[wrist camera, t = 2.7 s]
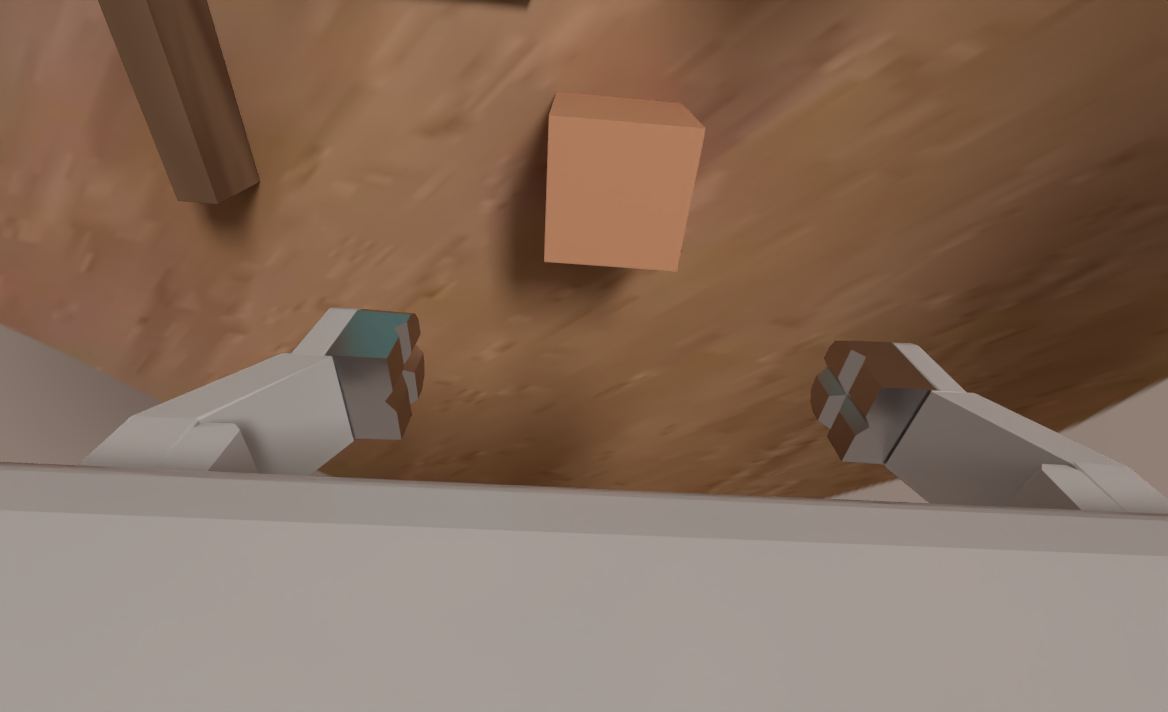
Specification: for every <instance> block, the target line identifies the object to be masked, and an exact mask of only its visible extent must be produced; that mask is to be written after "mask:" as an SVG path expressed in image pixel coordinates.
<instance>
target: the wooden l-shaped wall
mask: <svg viewBox="0 0 1168 712" xmlns="http://www.w3.org/2000/svg"><path fill="white" fill-rule="evenodd" d="M98 2H99V4H100V7H101V9H102V12H103V14H104V17H105V19H106V22H107V24H108V27H109V29H110V32H111V34H112V37H113V39H114V42H115V44H116V47H117V49H118V52H119V54H120V57H121V59H122V62H123V64H124V67H125V69H126V72H127V74H128V77H129V79H130V82H131V84H132V87H133V89H134V92H135V94H136V97H137V99H138V102H139V104H140V107H141V109H142V112H143V114H144V117H145V119H146V122H147V125H148V127H149V130H150V132H151V135H152V137H153V140H154V142H155V145H156V147H157V150H158V152H159V155H160V157H161V160H162V162H163V165H164V167H165V170H166V172H167V175H168V177H169V180H170V182H171V185H172V187H173V190H174V192H175V195H176V197H177V200H178V201H184V202H197V203H210V204H219V203H221V202H223V201H225V200H227V199H228V198H230V197H232V196H234V195H236V194H238V193H239V192H241V191H243V190H245V189H247V188H249V187H250V186H252V185H254V184H256V183H258V182H260V180H259V177H258V174H257V170H256V167H255V163H254V160H253V157H252V153H251V150H250V147H249V143H248V140H247V136H246V133H245V130H244V126H243V123H242V120H241V116H240V113H239V109H238V106H237V103H236V99H235V96H234V92H233V89H232V86H231V82H230V79H229V76H228V72H227V69H226V65H225V62H224V59H223V55H222V52H221V49H220V45H219V42H218V38H217V35H216V32H215V28H214V25H213V21H212V18H211V15H210V11H209V8H208V5H207V1H206V0H98Z"/></svg>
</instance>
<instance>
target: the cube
mask: <svg viewBox="0 0 1168 712" xmlns="http://www.w3.org/2000/svg"><path fill="white" fill-rule="evenodd" d="M705 130H706V128H705V127H704V126H703V125H702V124H701V123H700V122H699V121H698V120H697V119H696V118H695V117H694V116H693V115H692V114H691V112H690V111H689V110H688V109H687V108H686V107H685V106H684V105H683V104H682V103H675V102H664V101H652V100H641V99H629V98H618V97H606V96H595V95H583V94H572V93H560V92H556V95H555V98H554V101H553V104H552V107H551V110H550V113H549V128H548V159H547V189H546V220H545V250H544V262H554V263H568V264H582V265H595V266H609V267H623V268H637V269H651V270H664V271H677V267H678V263H679V258H680V253H681V248H682V243H683V238H684V233H685V228H686V223H687V218H688V214H689V209H690V204H691V199H692V194H693V189H694V184H695V179H696V174H697V169H698V165H699V160H700V155H701V150H702V145H703V140H704V135H705Z"/></svg>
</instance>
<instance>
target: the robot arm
mask: <svg viewBox="0 0 1168 712" xmlns="http://www.w3.org/2000/svg"><path fill="white" fill-rule="evenodd" d="M420 334H421V333H420V326H419V320H418V317H417V316H416V314H415V313H405V312H393V311H381V310H368V309H359V308H339V307H334V308H329V309H328V310H327V312H326V313H325V314H324V315H323V316H322V318H321V319H320V320H319V321H318V322H317V324H316V325H315V326H314V327H313V328H312V329H311V331H310V332H309V333H308V334H307V335H306V337H305V338H304V339H303V340H302V341H301V342H300V344H299V345H298V346H297V347H296V348H295V350H294V351H293V352H292V353H291V354H288V353H281V354H279V355H277V356H274V357H272V358H269V359H267V360H265V361H262V362H260V363H258V364H255V365H253V366H250V367H248V368H246V369H243V370H241V371H238V372H236V373H234V374H231V375H229V376H226V377H224V378H222V379H219V380H217V381H214V382H212V383H210V384H207V385H205V386H203V387H200V388H198V389H195V390H193V391H191V392H188V393H186V394H183V395H181V396H179V397H176V398H174V399H171V400H169V401H167V402H164V403H162V404H160V405H157V406H155V407H152V408H150V409H148V410H145V411H143V412H140V413H138V414H136V415H133V416H131V417H130V418H129V419H128V420H127V421H126V422H125V423H123V424H122V425H121V426H120V427H119V428H118V429H117V430H116V431H115V432H113V433H112V434H111V435H110V436H109V437H108V438H107V439H106V440H105V441H104V442H102V443H101V444H100V445H99V446H98V447H97V448H96V449H95V450H94V451H93V452H91V453H90V454H89V455H88V456H87V457H86V458H85V459H84V460H83V461H82V462H80V463H79V464H78V465H56V464H34V463H11V462H0V712H1168V499H1166V498H1165V497H1164V496H1163V495H1162V494H1160V493H1159V492H1158V491H1157V490H1156V489H1154V488H1153V487H1152V486H1151V485H1150V484H1148V483H1147V482H1146V481H1145V480H1144V479H1142V478H1141V477H1140V476H1139V475H1138V474H1136V473H1135V472H1134V471H1132V469H1130V468H1129V467H1128V466H1126V465H1123V464H1121V463H1119V462H1117V461H1115V460H1113V459H1111V458H1109V457H1107V456H1105V455H1103V454H1100V453H1098V452H1096V451H1094V450H1092V449H1090V448H1088V447H1086V446H1084V445H1082V444H1079V443H1077V442H1076V441H1073V440H1071V439H1069V438H1067V437H1065V436H1063V435H1061V434H1059V433H1057V432H1055V431H1053V430H1051V429H1048V428H1046V427H1044V426H1042V425H1040V424H1038V423H1036V422H1034V421H1032V420H1030V419H1028V418H1026V417H1023V416H1021V415H1019V414H1017V413H1015V412H1013V411H1011V410H1009V409H1007V408H1005V407H1003V406H1001V405H998V404H996V403H994V402H992V401H990V400H988V399H986V398H984V397H982V396H980V395H978V394H976V393H967V392H966V391H965V390H964V389H963V388H962V387H961V386H960V385H959V384H957V383H956V382H955V381H954V380H953V379H952V378H951V377H950V376H949V375H948V374H947V373H946V372H945V371H944V370H943V369H942V368H941V367H940V366H939V365H938V364H937V363H936V362H935V361H934V360H933V359H932V358H931V357H930V356H929V355H928V354H927V353H926V352H925V351H924V350H922V349H921V348H920V347H919V346H918V345H915V344H912V343H894V342H864V341H834V343H833V344H832V345H831V346H830V347H829V348H828V351H827V353H826V355H825V357H824V359H825V362H826V364H827V368H826V369H825V370H823V371H822V372H821V373H819V374H818V375H817V376H816V378H815V380H814V383H813V386H812V388H811V406H812V410H813V413H814V415H815V416H816V418H817V420H818V421H819V422H821V423H822V424H824V425H825V426H826V427H828V428H829V429H830V430H829V433H828V435H827V437H828V439H829V441H830V442H831V444H832V446H833V447H834V449H835V451H836V452H837V454H838V456H839V457H840V459H841V461H845V462H859V463H872V464H885V467H886V468H887V469H888V470H890V471H891V472H892V473H893V474H895V475H896V476H897V477H898V478H899V479H901V480H902V481H903V482H904V483H906V484H907V485H908V486H909V487H910V488H912V489H913V490H914V491H915V492H917V493H918V494H919V495H920V496H922V497H923V498H924V499H925V500H926V501H928V502H929V504H928V503H907V502H885V501H863V500H862V501H861V500H840V499H839V500H838V499H818V498H795V497H773V496H750V495H727V494H704V493H682V492H660V491H637V490H615V489H593V488H570V487H548V486H526V485H503V484H481V483H459V482H437V481H414V480H392V479H370V478H347V477H325V476H310V475H311V474H312V473H314V472H315V471H316V470H317V469H319V468H320V467H321V466H322V465H324V464H325V463H326V462H328V461H329V460H330V459H331V458H333V457H334V456H335V455H336V454H338V453H339V452H340V451H342V450H343V449H344V448H345V447H347V446H348V445H349V444H350V443H352V442H353V441H354V439H395V440H401V439H402V437H403V435H404V432H405V430H406V428H407V425H408V423H409V420H410V418H411V416H412V413H411V407H410V404H412V403H413V402H415V401H416V400H418V398H419V396H420V393H421V390H422V386H423V380H424V356H423V352H422V351H421V350H420V349H419V348H418V347H417V346H416V342H417V340H418V338H419V336H420Z"/></svg>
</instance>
